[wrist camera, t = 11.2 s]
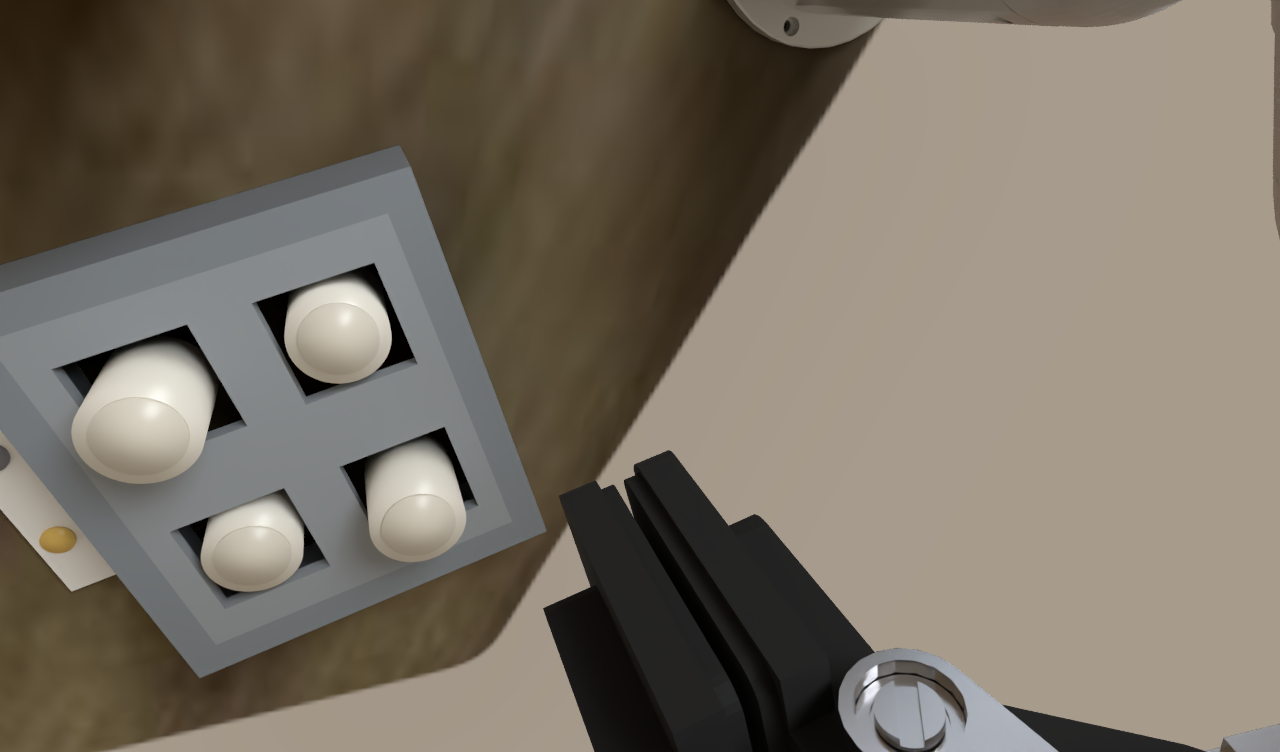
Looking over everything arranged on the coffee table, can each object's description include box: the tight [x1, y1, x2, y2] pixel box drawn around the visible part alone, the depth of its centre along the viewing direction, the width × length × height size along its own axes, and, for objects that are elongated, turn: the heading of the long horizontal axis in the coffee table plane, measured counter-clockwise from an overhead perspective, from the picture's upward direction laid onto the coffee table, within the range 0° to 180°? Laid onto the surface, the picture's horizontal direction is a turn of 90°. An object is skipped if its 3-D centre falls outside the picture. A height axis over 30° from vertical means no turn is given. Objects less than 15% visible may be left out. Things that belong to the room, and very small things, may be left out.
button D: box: [201, 488, 304, 592], centre depth 37 cm, size 4×4×5 cm
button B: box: [364, 434, 466, 562], centre depth 36 cm, size 4×4×5 cm
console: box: [0, 145, 547, 678], centre depth 36 cm, size 18×20×5 cm
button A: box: [284, 266, 392, 384], centre depth 34 cm, size 4×4×5 cm
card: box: [0, 430, 116, 592], centre depth 35 cm, size 4×11×1 cm, turn 13°
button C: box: [71, 335, 219, 484], centre depth 30 cm, size 4×4×5 cm
